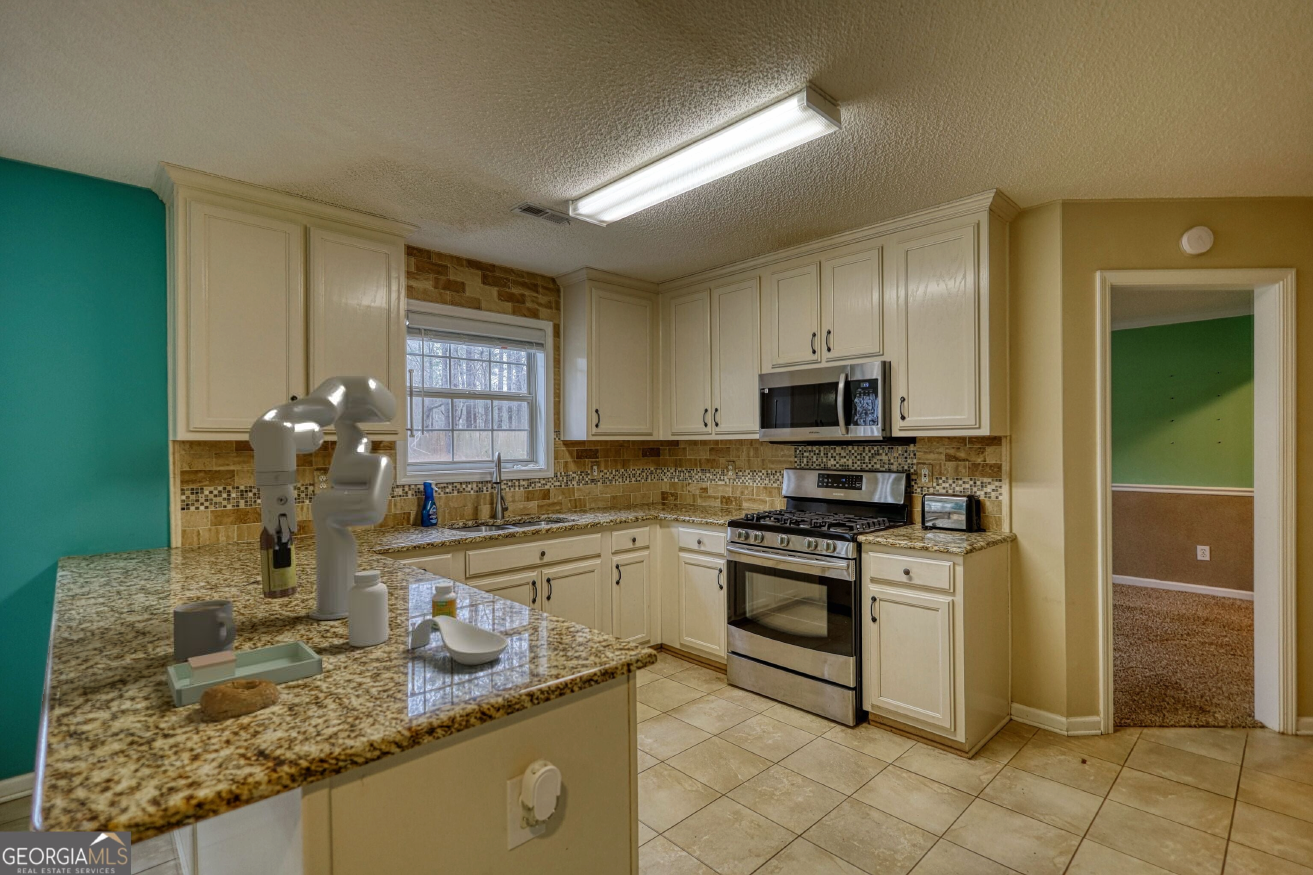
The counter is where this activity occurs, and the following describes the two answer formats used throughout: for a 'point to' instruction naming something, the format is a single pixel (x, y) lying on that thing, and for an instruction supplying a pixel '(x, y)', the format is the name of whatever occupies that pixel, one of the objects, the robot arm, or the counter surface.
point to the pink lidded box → (211, 667)
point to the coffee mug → (203, 628)
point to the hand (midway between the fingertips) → (278, 564)
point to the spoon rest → (461, 640)
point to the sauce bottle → (276, 580)
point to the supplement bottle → (443, 601)
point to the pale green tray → (250, 669)
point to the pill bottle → (367, 610)
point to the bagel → (238, 698)
